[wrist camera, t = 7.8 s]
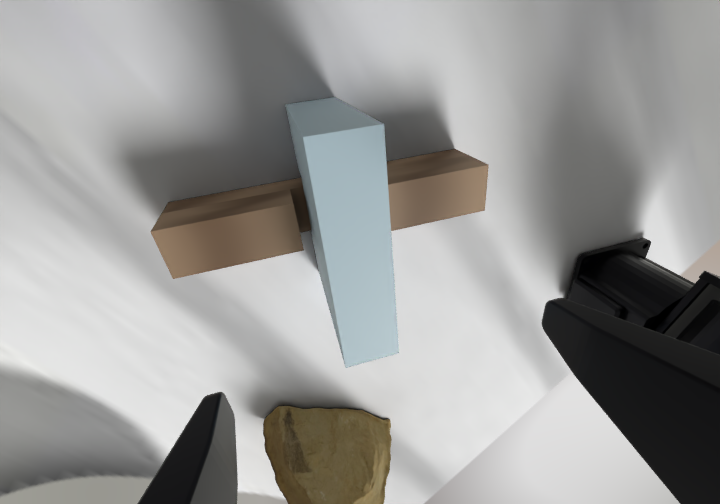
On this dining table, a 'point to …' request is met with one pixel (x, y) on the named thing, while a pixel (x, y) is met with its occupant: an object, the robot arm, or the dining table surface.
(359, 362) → the blue-grey rectangular slab
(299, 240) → the walnut rail
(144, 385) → the dining table surface
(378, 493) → the rock
